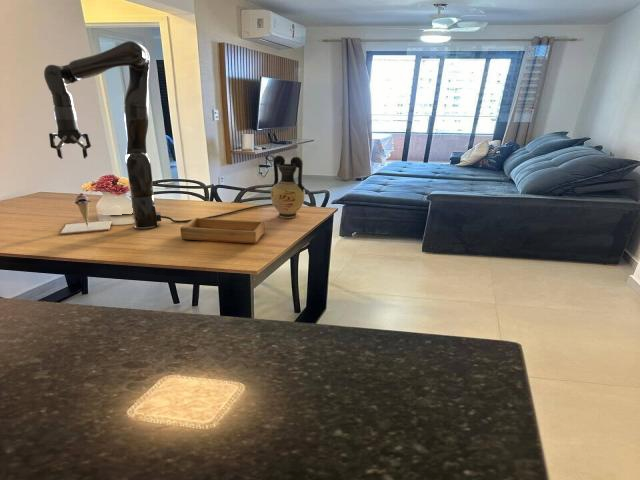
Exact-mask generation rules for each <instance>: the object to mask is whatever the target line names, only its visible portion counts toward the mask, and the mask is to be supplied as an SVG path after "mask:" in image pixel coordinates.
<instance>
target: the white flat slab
mask: <svg viewBox="0 0 640 480" xmlns="http://www.w3.org/2000/svg"><path fill="white" fill-rule="evenodd" d="M111 224H112V221H104V220H94V221H93V220H92V221H88V226H87V225H86V222H85V221H81V222H69V223H65V226H63V229H62V230H61V231H60V232H59V235H60V236H63V235H64V236H65V235H74V234H86V233H95V232H98V233H99V232H109V231H110V228H111Z"/></svg>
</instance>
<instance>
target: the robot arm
mask: <svg viewBox="0 0 640 480" xmlns="http://www.w3.org/2000/svg"><path fill="white" fill-rule="evenodd" d="M150 63H151V56H150V53H149V51H148V50H147V48H146V47H145V46H144V45H142V44H139V43H138V42H137V41H134V40H126V41H124V42H122V43H120V44H118V45H116V46H113V47H112V48H109V49H107V50H105V51H102V52H99V53H96V54H93V55H89V56H85V57H81V58H77V59H74V60H71V61H69V62H68V64H65V65H57V64H48V65H46V66H45V68H44V70H43V78H44V81H45V83H46V86H47V88H48V90H49V93H50V94H51V99H52V103H53V112H54V113H53V114H54V118H55V124H56V129H57V133H55V132H49V133H48V137H49V138H48V139H49V145H50V146H49V147H50V148H51V149H55V150H56V153H57V157H58V158H59V159H60V160H62V159H64V156H63V151H62V150H63V149H61V148H62V147H63V145H64V144H65V145H69V144H72V145H75V144H77V145H78V146H79V147H81V148H82V151H81V152H82V156H83V159H87V158H88V149H90V148H92V144H91V139H90V135H89V133H88V132H85V133H81V132H80V128H79V122H78V115H77V111H76V109H75V103H74V97H73V94H72V93H71V92H70V91H69V90H67V87H66V86H68V85H71V84H75V83H76V82H79V81H80V80H84V79H89V78H92V77H96V76H98V75H99V76H100V75H101V74H103V73H105V72H107V71H108V70H111V69H113V68H118V67H125V66H126V67H128V74H129V76H128V77H129V79H128V85H127V89H126V92H125V95H124V98H123V99H124V101H123V105H124V106H123V111H124V112H123V113H124V124H125V125H124V126H125V133H126V139H127V140H126V153H125V159H124V160H125V165H126V170H127V177H128V187H129V194H130V199H131V201H130V202H132V208H133V214H132V220H133V221H134V223H133V224H134V229H137V230H149V229H154V228H158V227H159V226H158V222H162V219H167V220H170V221H171V222H174V223H188V222H190V221H191V220H193V219H194V218H193V219H192V218H191V219H186V220H185V219H183V220H177V219H173V218H172V217H170V216H165V215H161V212H157V211H156V209H157V208H156V203H155V196H154V195H155V194H154V185H153V171H152V163H151V159H150V158H149V156H148V151H147V133H148V129H149V121H150V103H149V73H150ZM81 137H82V138H83V139H84V140H85V142H86V143H83V141H81ZM57 138H58V139H60V141H59V143H58V144H57V145H56V141H55V140H56V139H57ZM267 206H274V205H273V203H272V202H271V203H265V204H264V203H263V204H258V205H253V206H252V205H251V206H248V207H244V208H240V209H236V210H231V211H228V212H225V213H220V214H215V215H211V216H204V218H207V219H215V218H218V217H222V216H227V215H231V214H234V213H238V212H241V211H242V212H243V211H245V210H250V209H255V208H260V207H261V208H262V207H267Z"/></svg>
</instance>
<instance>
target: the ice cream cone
mask: <svg viewBox="0 0 640 480" xmlns="http://www.w3.org/2000/svg"><path fill="white" fill-rule="evenodd" d="M90 203H91V200H90V199H89V197H88V195H85V194H84V193H82V192H81V193H79V194H78V195H76V198H75V201H74V204H75V205H77V206H78V209H79V212H80V214H81V217H82V218H83V220H84V222H86V225H87V226H88V222H89V210H90V209H89V207H90Z"/></svg>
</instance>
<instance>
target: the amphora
mask: <svg viewBox="0 0 640 480" xmlns="http://www.w3.org/2000/svg"><path fill="white" fill-rule="evenodd" d="M272 162H273V164H272V165H273V172H274V175H273V176H274V179H273V180H274V181H273V184H271V189H270V200H271V204H272V203H273V205H272V206H273V207H274V209H276V211H278V217H280V218H281V219H294V218H296V217H298V214H297V212H298V211H299V210H300V209H301V208H302V207H303V205H304V203H305V197H306V192H305V191H306V190H305V186H304V184H303V170H304V169H303V165H304V164H303V163H304V161H303V160H302V158H301V157H300V156H293V157H292V158H291V159H290V162H289V163H286V159H285V157H284V156H283V155H280V154H279V155H276V156H274V157H273V161H272ZM297 168H298V171H297ZM296 171H297V182H296V181H295V173H296ZM279 172H280V173H281V177H280V181H279Z"/></svg>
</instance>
